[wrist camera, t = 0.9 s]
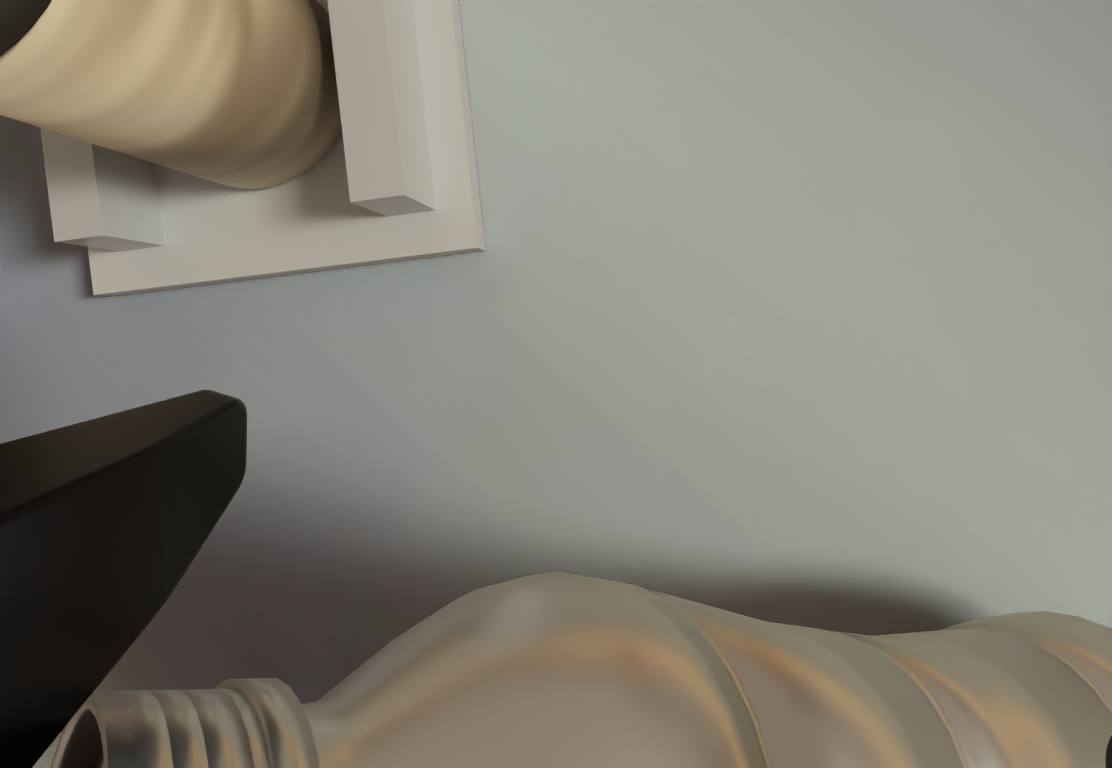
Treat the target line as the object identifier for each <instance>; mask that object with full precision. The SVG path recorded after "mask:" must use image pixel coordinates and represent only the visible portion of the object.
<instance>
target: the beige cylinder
mask: <svg viewBox="0 0 1112 768" xmlns="http://www.w3.org/2000/svg"><path fill="white" fill-rule="evenodd" d="M0 115H2V116H5V117H8V118H11V119H15V120H18V121H21V122H24V123H27V124H31V125H34V126H37V127H40V128H43V129H47V130H50V131H53V132H56V133H59V134H63V135H66V136H69V137H72V138H75V139H79V140H82V141H85V142H88V143H91V144H95V145H98V146H101V147H104V148H107V149H111V150H114V151H117V152H120V153H123V154H127V155H130V156H133V157H136V158H139V159H143V160H146V161H149V162H152V163H155V164H159V165H162V166H165V167H168V168H171V169H175V170H178V171H181V172H184V173H187V174H190V175H194V176H197V177H200V178H203V179H206V180H210V181H213V182H216V183H219V184H222V185H226V186H230V187H235V188H240V189H263V188H269V187H273V186H278V185H280V184H283V183H286V182H289V181H291V180H293V179H295V178H297V177H298V176H300V175H302V174H303V173H305V172H306V171H308V170H309V169H310V168H312V167H313V166H314V165H315V164H316V163H317V162H318V161H319V160H320V159H321V158H322V157H323V156H324V155H325V154H326V152H327V151H328V150H329V149H330V148H331V146H332V144H333V143H334V141H335V140H336V138H337V137H338V135H339V133H340V130H341V128H342V125H341V116H340V107H339V98H338V90H337V81H336V72H335V63H334V54H333V45H332V37H331V28H330V19H329V13H328V12H327V11H326V10H325V9H324V7H323V6H322V5H320V4H319V3H318V2H317V1H316V0H0Z"/></svg>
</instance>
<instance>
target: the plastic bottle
mask: <svg viewBox="0 0 1112 768" xmlns="http://www.w3.org/2000/svg"><path fill="white" fill-rule="evenodd" d="M1111 735H1112V629H1111V628H1109V627H1106V626H1103V625H1100V624H1097V623H1095V622H1092V621H1089V620H1086V619H1083V618H1081V617H1078V616H1072V615H1065V614H1059V613H1052V612H1045V611H1042V612H1025V613H1011V614H1005V615H998V616H992V617H985V618H979V619H976V620H972V621H969V622H965V623H962V624H958V625H955V626H951V627H948V628H945V629H942V630H938V631H925V632H913V633H900V634H887V635H874V636H868V635H861V634H854V633H847V632H840V631H834V632H832V631H827V630H823V629H818V628H811V627H803V626H796V625H788V624H781V623H773V622H766V621H763V620H759V619H755V618H752V617H748V616H745V615H741V614H737V613H734V612H730V611H726V610H723V609H719V608H716V607H712V606H708V605H705V604H701V603H697V602H694V601H690V600H687V599H683V598H679V597H676V596H672V595H668V594H665V593H661V592H658V591H653V590H648V589H644V588H642V587H640V586H638V585H632V584H627V583H622V582H617V581H612V580H606V579H600V578H593V577H587V576H581V575H575V574H570V573H565V572H560V571H555V572H548V573H542V574H535V575H529V576H526V577H522V578H518V579H514V580H510V581H506V582H503V583H499V584H495V585H491V586H487V587H484V588H480V589H476V590H473V591H471V592H469V593H467V594H465V595H463V596H462V597H460V598H458V599H456V600H454V601H452V602H450V603H449V604H447V605H446V606H444V607H443V608H441V609H440V610H438V611H437V612H435V613H433V614H432V615H430V616H429V617H427V618H426V619H424V620H423V621H421V622H420V623H418V624H416V625H415V626H413V627H412V628H410V629H409V630H407V631H406V632H404V633H403V634H401V635H399V636H398V637H396V638H395V639H393V640H392V641H390V642H389V643H388V644H387V645H385V646H384V647H383V648H382V649H380V650H379V651H378V652H377V653H376V654H374V655H373V656H372V657H371V658H369V659H368V660H367V661H366V662H364V663H363V664H362V665H361V666H360V667H358V668H357V669H356V670H355V671H353V672H352V673H351V674H350V675H348V676H347V677H346V678H345V679H344V680H342V681H341V682H340V683H339V684H337V685H336V686H335V687H334V688H332V689H331V690H330V691H329V692H328V693H326V694H325V695H324V696H323V697H321V698H320V699H319V700H318V701H315V702H310V703H305V704H301V702H300V700H299V699H298V698H297V696H296V695H295V693H294V692H293V691H292V689H291V688H290V687H289V685H287V684H285V683H284V682H282V681H281V680H279V679H277V678H245V679H225V680H224V681H222V682H220V683H219V684H217V685H216V686H214V688H213V689H178V690H108V691H107V692H106V693H105V694H103V695H90V696H89V698H88V699H87V700H86V701H85V703H84V704H83V705H82V706H81V708H80V709H79V710H78V711H77V713H76V714H75V715H74V716H73V717H72V719H71V720H70V721H69V722H68V724H67V725H66V726H65V727H64V729H63V731H62V733H61V736H60V739H59V742H58V745H57V748H56V751H55V754H54V757H53V761H52V765H51V768H1106V766H1105V756H1106V749H1107V745H1108V742H1109V739H1110V737H1111Z"/></svg>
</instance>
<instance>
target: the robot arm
mask: <svg viewBox="0 0 1112 768" xmlns="http://www.w3.org/2000/svg"><path fill="white" fill-rule="evenodd" d="M246 451H247V410H246V407H245V404H244V403H243V402H242V401H241V400H240V399H238V398H235V397H231V396H228V395H225V394H221V393H218V392H215V391H211V390H201V391H198V392H194V393H190V394H186V395H182V396H179V397H175V398H171V399H167V400H164V401H160V402H156V403H152V404H149V405H145V406H141V407H137V408H134V409H130V410H126V411H122V412H119V413H115V414H111V415H107V416H104V417H100V418H96V419H92V420H88V421H85V422H81V423H77V424H73V425H70V426H66V427H62V428H58V429H55V430H51V431H47V432H43V433H40V434H36V435H32V436H28V437H25V438H21V439H17V440H13V441H9V442H6V443H2V444H0V768H32V767H33V766H34V764H35V763H36V762H37V761H38V759H39V758H40V757H41V756H42V754H43V753H44V752H45V751H46V750H47V748H48V747H49V746H50V745H51V743H52V742H53V741H54V740H55V738H56V737H57V736H58V735H59V733H60V732H61V731H62V730H63V729H64V727H65V726H66V725H67V724H68V722H69V721H70V720H71V719H72V717H73V716H74V715H75V714H76V713H77V711H78V710H79V709H80V708H81V706H82V705H83V704H84V703H85V701H86V700H87V699H88V698H89V696H90V695H91V694H92V693H93V692H94V690H95V689H96V688H97V687H98V685H99V684H100V683H101V682H102V680H103V679H104V678H105V677H106V675H107V674H108V673H109V672H110V671H111V669H112V668H113V667H114V666H115V664H116V663H117V662H118V661H119V659H120V658H121V657H122V656H123V655H124V653H125V652H126V651H127V650H128V648H129V647H130V646H131V645H132V643H133V642H134V641H135V640H136V638H137V637H138V636H139V635H140V634H141V632H142V631H143V630H144V629H145V627H146V626H147V625H148V624H149V622H150V621H151V620H152V619H153V617H154V616H155V615H156V613H157V612H158V611H159V609H160V608H161V607H162V606H163V604H164V603H165V602H166V600H167V599H168V597H169V596H170V594H171V593H172V591H173V590H174V588H175V587H176V586H177V584H178V583H179V581H180V579H181V578H182V576H183V575H184V573H185V572H186V570H187V568H188V567H189V565H190V564H191V562H192V561H193V559H194V558H195V556H196V554H197V553H198V551H199V550H200V548H201V547H202V545H203V543H204V542H205V540H206V539H207V537H208V536H209V534H210V533H211V531H212V529H213V528H214V526H215V525H216V523H217V522H218V520H219V518H220V517H221V515H222V514H223V512H224V511H225V509H226V507H227V506H228V504H229V503H230V501H231V500H232V498H233V497H234V495H235V493H236V492H237V490H238V489H239V487H240V485H241V483H242V480H243V477H244V474H245V470H246ZM1105 766H1106V768H1112V735H1111V737H1110V739H1109V742H1108V745H1107V749H1106V756H1105Z"/></svg>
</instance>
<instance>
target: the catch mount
mask: <svg viewBox="0 0 1112 768" xmlns="http://www.w3.org/2000/svg"><path fill="white" fill-rule="evenodd" d="M316 1H317V2H318V3H319V4H320V5H322V6H323V7H324V9H325V10H326V11H327V12H328V13H329V19H330V28H331V37H332V45H333V54H334V63H335V72H336V81H337V90H338V98H339V107H340V116H341V125H342V128H341V130H340V133H339V135H338V137H337V138H336V140H335V141H334V143H333V144H332V146H331V148H330V149H329V150H328V151H327V152H326V154H325V155H324V156H323V157H322V158H321V159H320V160H319V161H318V162H317V163H316V164H315V165H314V166H313V167H312V168H310V169H309V170H308V171H306V172H305V173H303V174H302V175H300V176H298V177H297V178H295V179H293V180H291V181H289V182H286V183H283V184H280V185H278V186H273V187H269V188H263V189H240V188H235V187H230V186H226V185H222V184H219V183H216V182H213V181H210V180H206V179H203V178H200V177H197V176H194V175H190V174H187V173H184V172H181V171H178V170H175V169H171V168H168V167H165V166H162V165H159V164H155V163H152V162H149V161H146V160H143V159H139V158H136V157H133V156H130V155H127V154H123V153H120V152H117V151H114V150H111V149H107V148H104V147H101V146H98V145H95V144H91V143H88V142H85V141H82V140H79V139H75V138H72V137H69V136H66V135H63V134H59V133H56V132H53V131H50V130H47V129H43V128H40V132H41V140H42V148H43V156H44V164H45V172H46V180H47V188H48V196H49V203H50V211H51V219H52V227H53V235H54V242H59V243H66V244H73V245H80V246H87V247H88V254H89V262H90V271H91V279H92V287H93V295H100V296H119V295H128V294H136V293H144V292H152V291H160V290H168V289H176V288H185V287H193V286H201V285H209V284H217V283H225V282H233V281H242V280H250V279H258V278H266V277H274V276H282V275H290V274H298V273H307V272H315V271H323V270H331V269H339V268H347V267H355V266H364V265H372V264H380V263H388V262H396V261H404V260H412V259H420V258H429V257H437V256H445V255H453V254H461V253H469V252H477V251H485V245H484V236H483V226H482V217H481V208H480V198H479V189H478V180H477V171H476V161H475V152H474V143H473V134H472V124H471V115H470V106H469V97H468V87H467V78H466V69H465V59H464V50H463V41H462V32H461V22H460V13H459V4H458V0H316Z"/></svg>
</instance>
